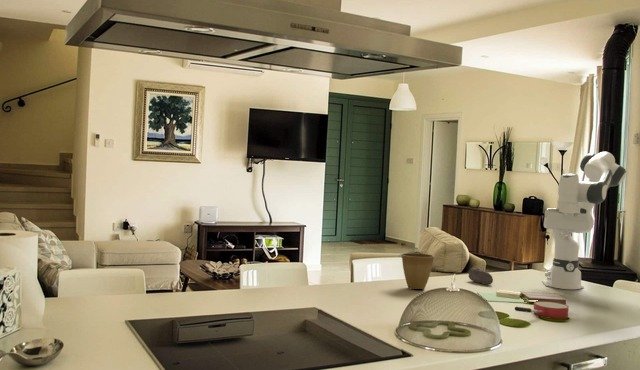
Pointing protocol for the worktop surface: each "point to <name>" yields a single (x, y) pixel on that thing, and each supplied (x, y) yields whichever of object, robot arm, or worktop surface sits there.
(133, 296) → the worktop surface
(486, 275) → the grey stone
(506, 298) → the green mat
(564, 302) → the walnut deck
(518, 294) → the birch tile
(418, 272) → the plant pot
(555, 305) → the red saucepan
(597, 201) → the robot arm
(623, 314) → the worktop surface
